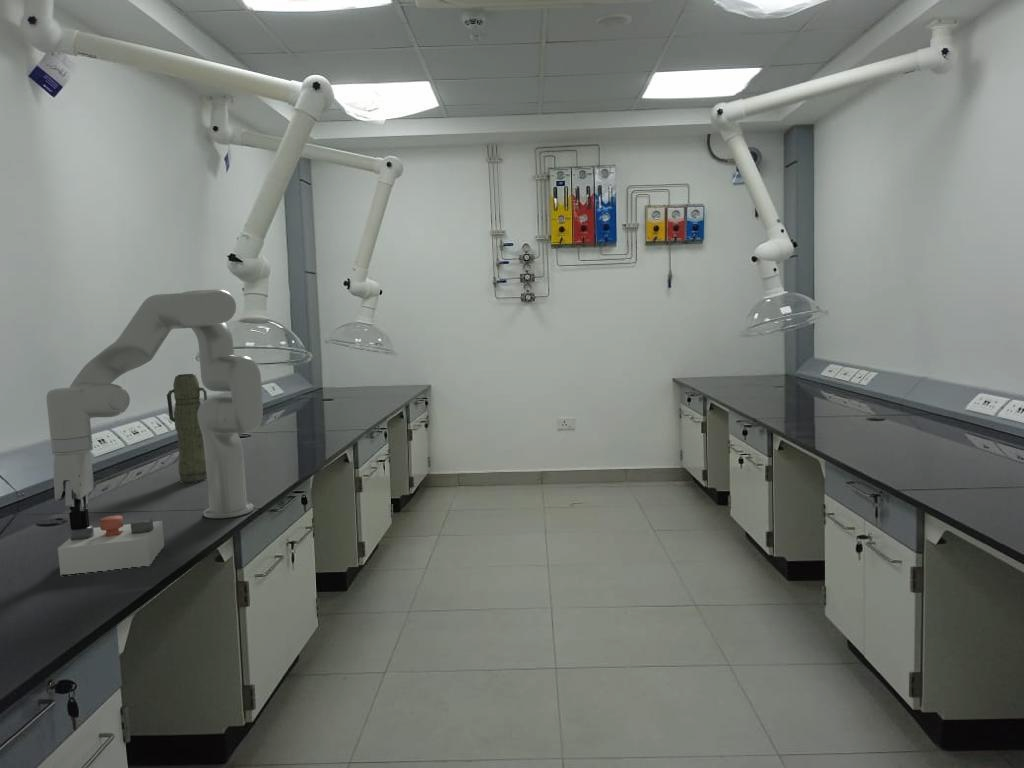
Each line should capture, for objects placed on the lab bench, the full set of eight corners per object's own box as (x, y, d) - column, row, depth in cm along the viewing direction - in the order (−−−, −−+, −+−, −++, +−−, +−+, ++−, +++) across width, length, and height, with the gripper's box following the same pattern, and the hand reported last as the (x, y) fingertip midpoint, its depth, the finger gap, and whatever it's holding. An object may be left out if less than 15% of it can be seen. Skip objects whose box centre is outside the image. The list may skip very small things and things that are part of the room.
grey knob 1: (76, 550, 157) (73, 526, 156) (98, 548, 158) (95, 523, 157) (69, 556, 152) (66, 532, 152) (91, 554, 153) (89, 529, 153)
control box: (83, 554, 161) (80, 529, 161) (164, 545, 166) (161, 520, 165) (60, 576, 148) (57, 548, 147) (149, 566, 152) (146, 538, 151)
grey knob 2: (135, 543, 159) (133, 520, 159) (157, 541, 161) (154, 517, 160) (130, 550, 155) (128, 525, 155) (152, 547, 156) (150, 523, 156)
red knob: (105, 540, 158) (103, 516, 157) (127, 538, 159) (124, 514, 158) (99, 546, 154) (96, 522, 153) (121, 544, 155) (119, 520, 154)
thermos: (175, 479, 237) (166, 374, 233) (214, 474, 241) (205, 372, 237) (173, 484, 228) (163, 376, 225) (213, 480, 232) (204, 374, 229)
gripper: (65, 441, 159) (73, 520, 160) (38, 452, 144) (47, 540, 146) (102, 438, 161) (109, 517, 162) (79, 449, 146) (88, 536, 148)
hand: (80, 528), depth 154 cm, fingers closed
